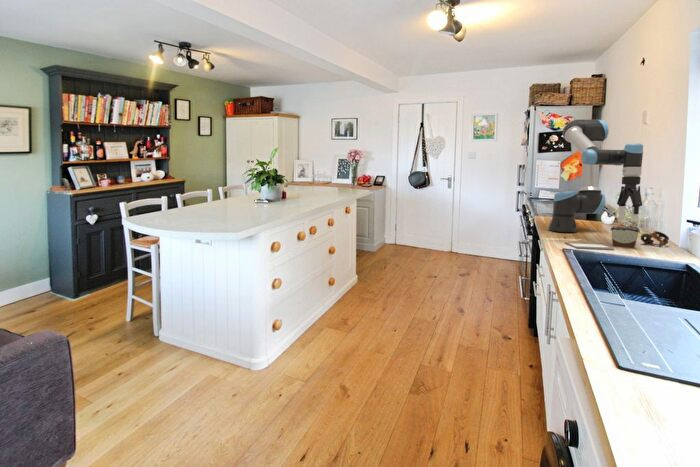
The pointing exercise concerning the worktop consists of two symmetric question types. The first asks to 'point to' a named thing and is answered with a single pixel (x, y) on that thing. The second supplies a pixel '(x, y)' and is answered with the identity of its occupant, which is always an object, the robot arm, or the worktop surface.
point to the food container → (624, 236)
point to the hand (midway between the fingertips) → (627, 220)
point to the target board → (589, 246)
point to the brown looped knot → (655, 236)
